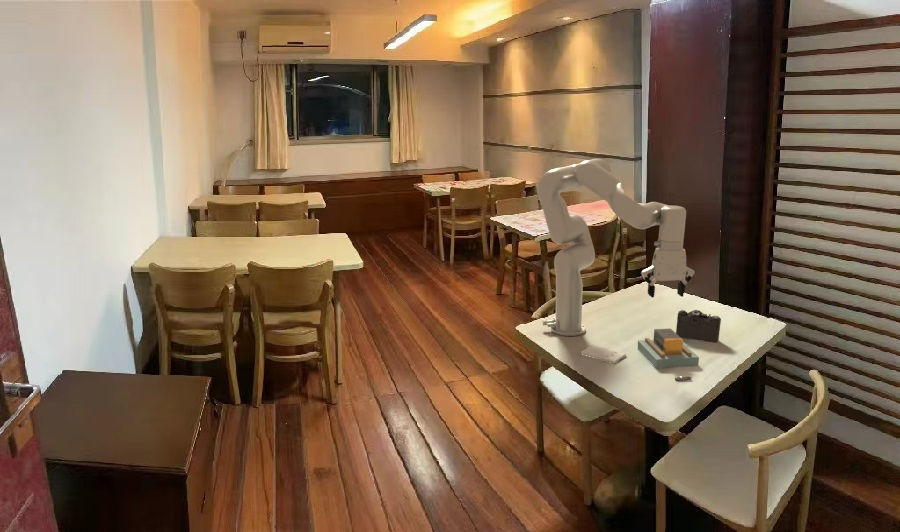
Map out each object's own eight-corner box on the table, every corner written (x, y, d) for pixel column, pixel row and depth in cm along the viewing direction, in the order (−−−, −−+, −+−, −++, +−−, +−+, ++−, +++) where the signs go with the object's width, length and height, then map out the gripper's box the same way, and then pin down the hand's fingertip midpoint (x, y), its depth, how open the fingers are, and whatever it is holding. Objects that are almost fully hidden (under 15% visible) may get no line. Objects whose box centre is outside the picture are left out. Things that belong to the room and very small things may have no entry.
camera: (720, 333, 230) (722, 307, 227) (718, 344, 221) (720, 317, 218) (678, 328, 236) (680, 302, 233) (674, 338, 227) (676, 312, 224)
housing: (653, 343, 215) (654, 329, 214) (669, 342, 215) (670, 328, 214) (665, 355, 205) (666, 340, 204) (681, 354, 206) (683, 339, 204)
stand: (655, 368, 203) (656, 356, 202) (637, 348, 218) (638, 337, 217) (698, 365, 204) (699, 353, 203) (677, 346, 219) (678, 335, 218)
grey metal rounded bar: (675, 381, 194) (675, 378, 194) (673, 380, 195) (674, 376, 195) (692, 380, 194) (692, 377, 194) (690, 379, 196) (690, 375, 195)
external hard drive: (592, 348, 221) (626, 357, 213) (580, 356, 215) (614, 365, 207) (592, 344, 221) (626, 353, 213) (580, 351, 215) (614, 361, 207)
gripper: (648, 248, 199) (643, 300, 203) (702, 247, 200) (696, 298, 204) (639, 242, 206) (635, 292, 211) (691, 241, 207) (686, 291, 212)
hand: (665, 295), depth 208 cm, fingers open, 9 cm apart
